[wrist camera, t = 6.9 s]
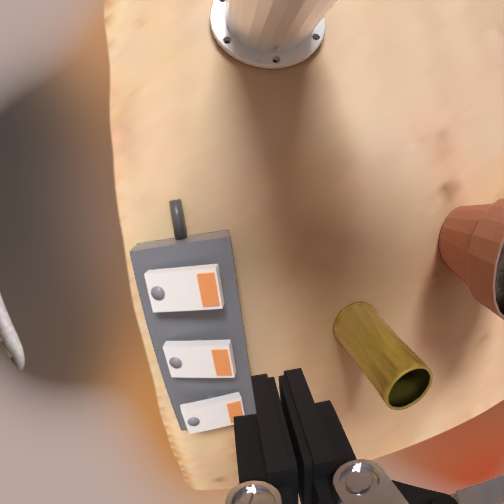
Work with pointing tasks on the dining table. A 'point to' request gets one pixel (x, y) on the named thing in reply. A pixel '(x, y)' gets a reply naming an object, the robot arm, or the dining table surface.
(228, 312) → the power strip
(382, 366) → the vase
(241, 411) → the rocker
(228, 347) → the rocker mid
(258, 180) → the dining table surface
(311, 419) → the robot arm
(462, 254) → the potted plant
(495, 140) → the dining table surface
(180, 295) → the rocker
